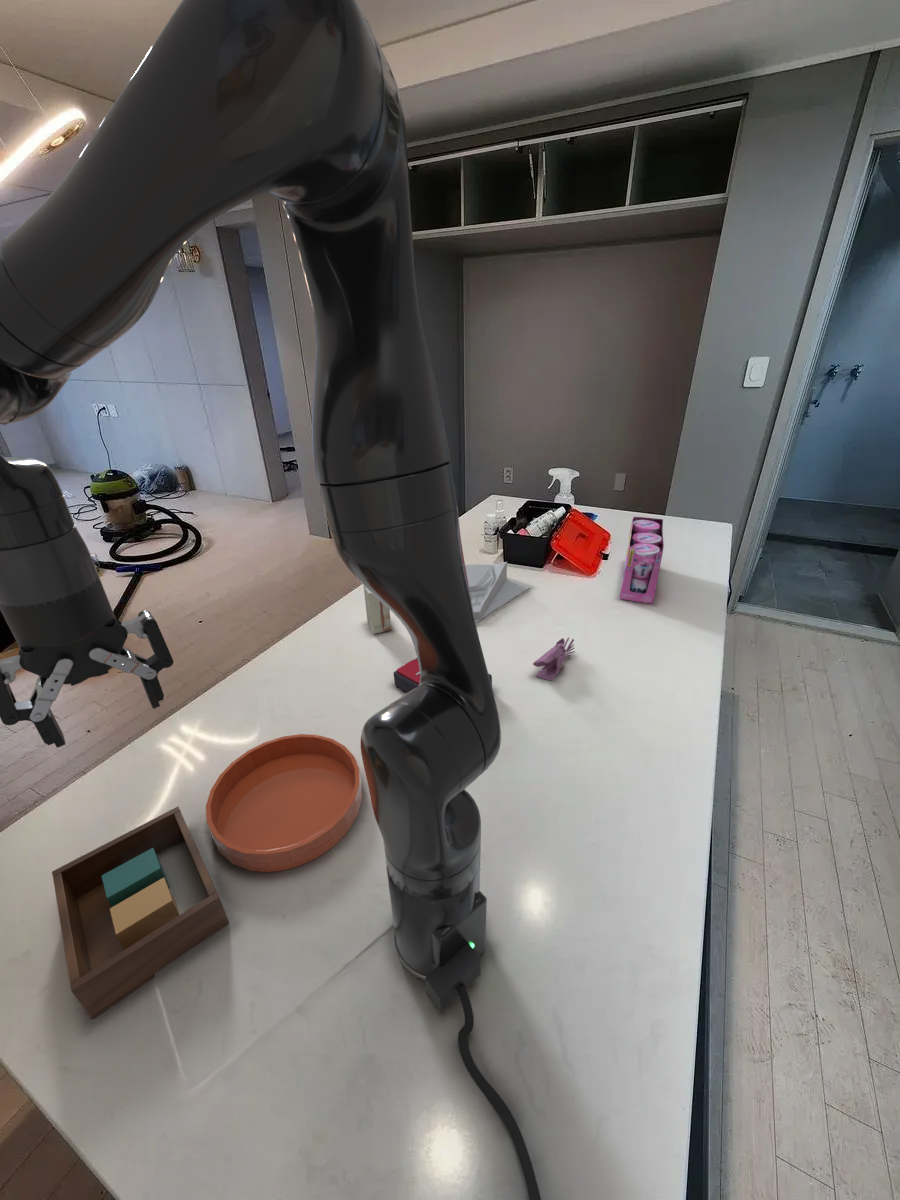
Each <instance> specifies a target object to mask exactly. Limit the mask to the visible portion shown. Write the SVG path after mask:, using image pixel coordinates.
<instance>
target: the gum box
mask: <svg viewBox="0 0 900 1200" xmlns="http://www.w3.org/2000/svg"><path fill="white" fill-rule="evenodd" d="M664 548H665V543H664V519H663V518H654V517H643V516H632V519H631V524H630V529H629V534H628V540H627V545H626V553H625V558H624V559H625V560H624V564H623V571H622V580H621V586H620V592H619V593H620V594H619V599H620V600H625V601H631V602H639V603H645V604H651V605H652V604H654V600H655V594H656V591H657V590H656V589H657V585H658V579H659V573H660V569H661V565H662V560H663V553H664Z"/></svg>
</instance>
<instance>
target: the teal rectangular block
mask: <svg viewBox="0 0 900 1200" xmlns="http://www.w3.org/2000/svg"><path fill="white" fill-rule="evenodd" d="M157 854H158V853H157ZM157 854H156V852H155V850H154V848H151V849H150V850H148V851H146V852H144V853H142V854H140V855H139V856H137V857H135V858H133V859H131V860H129V861H128V862H126V863H124V864H122V865H120V866H118V867H116V868H115V869H113V870H111V871H109V872H107V873H105V874H104V875H102V876H101V877H102V881H103V885H104V889H105V893H106V897H107V900H108V901H109V903H110V905H111V907H114V906H115V905H117V904H119V903H120V902H122V901H124V900H126V899H127V898H129V897H131V896H133V895H134V894H136V893H138V892H139V891H141V890H143V889H145V888H146V887H148V886H150V885H152V884H153V883H155V882H157V881H158V880H160V879H162V878H165V880H166V882H167V884H168V887H169V889H170V890H171V887H170V884H169V880H168V878H167V875H166V873H165V870H164V867H163V865H162V863H161V862H160V859H159V857H158V855H157Z"/></svg>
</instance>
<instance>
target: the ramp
mask: <svg viewBox="0 0 900 1200" xmlns="http://www.w3.org/2000/svg"><path fill="white" fill-rule="evenodd" d="M465 567H466V573H467V579H468V584H469V590H470V595H471V601H472V607H473V612H474V617H475V622H476V623H478V622H480V621H481V620H482V619H484V618H486V617H487V616H489V615H490V614H492V613H494V612H495V611H496V610H498V609H499V608H501V607H503V606H504V605H506V604H507V603H509V602H510V601H512V600H514V599H515V598H517V597H518V596H519V595H521V594H523V593H524V592H526V591H527V590H528V589H530V588H531V587H530V586H528V585H525V584H523V583H519V582H516V581H513V580H511V579H508V577H507V576H508V561H504V562H500V563H495V564H480V563H479V564H476V563H475V564H465Z"/></svg>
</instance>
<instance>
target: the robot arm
mask: <svg viewBox="0 0 900 1200" xmlns="http://www.w3.org/2000/svg"><path fill="white" fill-rule="evenodd" d="M408 152H409V151H408V138H407V127H406V119H405V113H404V109H403V103H402V99H401V94H400V90H399V86H398V83H397V82H396V79H395V76H394V74H393V71H392V69H391V66H390V64H389V62H388V60H387V58H386V55H385V54H384V51H383V49H382V47H381V45H380V43H379V41H378V39H377V37H376V35H375V33H374V31H373V29H372V27H371V25H370V24H369V21H368V20H367V18H366V16H365V13H364V12H363V10H362V8H361V6H360V4H359V2H358V1H357V0H181V1H180V3H179V4H178V6H177V7H176V8H175V10H174V12H173V13H172V14H171V16H170V18H169V19H168V21H167V22H166V24H165V26H164V27H163V28H162V30H161V32H160V33H159V35H158V37H157V38H156V39H155V41H154V43H153V44H152V46H151V47H150V49H149V50H148V52H147V53H146V55H145V57H144V58H143V60H142V62H141V63H140V65H139V66H138V68H137V70H136V71H135V73H134V74H133V76H132V77H131V78H130V80H129V81H128V83H127V84H126V86H125V87H124V88H123V90H122V91H121V93H120V94H119V95H118V97H117V98H116V100H115V102H114V103H113V104H112V106H111V108H110V109H109V111H108V112H107V114H106V115H105V117H104V118H103V120H102V122H101V123H100V125H99V127H98V128H97V129H96V131H95V133H94V134H93V136H92V137H91V139H89V141H88V143H87V144H86V146H85V147H84V149H83V151H82V152H81V153H80V155H79V157H78V158H77V160H76V161H75V162H74V164H73V165H72V167H71V168H70V169H69V171H68V172H67V173H66V175H65V176H64V178H62V180H61V181H60V182H59V184H58V185H57V186H56V188H55V189H54V190H53V191H52V192H51V194H50V195H49V196H47V197H46V199H45V200H44V201H43V202H42V204H40V205H39V206H38V208H36V209H35V210H34V211H33V212H32V213H31V214H29V216H28V217H27V218H26V219H25V220H24V221H23V222H22V223H21V224H19V226H17V227H16V228H15V229H14V230H13V231H12V232H10V233H9V234H8V235H7V236H6V237H5V238H4V239H3V240H1V241H0V427H2V426H6V425H12V424H15V423H19V422H22V421H24V420H27V419H29V418H31V417H33V416H34V415H37V413H39V412H41V411H42V410H44V409H45V408H47V407H48V406H49V405H50V404H51V403H52V402H53V401H54V400H55V398H56V397H57V396H58V395H59V393H60V392H61V390H62V389H63V388H64V386H65V385H66V383H67V382H68V381H69V379H70V378H71V375H72V373H73V371H76V370H77V369H78V368H80V367H82V366H84V365H85V364H87V362H89V361H91V360H92V359H93V358H95V357H96V356H97V355H99V354H100V353H101V352H103V351H104V350H106V349H107V348H108V347H110V346H111V345H112V344H114V343H115V342H117V341H118V340H119V339H121V338H122V337H124V336H125V335H126V334H127V333H128V332H129V331H131V329H132V328H134V327H135V325H137V323H138V322H139V321H140V320H141V319H142V318H143V316H144V315H145V314H146V313H147V311H148V309H149V308H150V307H151V305H152V304H153V301H154V300H155V298H156V296H157V293H158V292H159V291H158V290H159V288H160V287H161V283H162V281H163V279H164V276H165V274H166V272H167V270H168V269H169V267H170V265H171V262H172V261H173V259H174V258H175V256H176V255H177V254H178V252H179V251H180V250H181V248H182V247H183V246H184V245H185V244H186V243H187V242H188V241H189V239H190V238H191V237H192V236H194V235H195V234H196V233H197V232H198V231H199V230H200V229H202V228H203V227H205V226H206V225H207V224H208V223H210V222H211V221H213V220H215V219H216V218H217V217H219V216H221V215H223V214H225V213H227V212H229V211H230V210H232V209H234V208H236V207H238V206H240V205H243V204H245V203H246V202H248V201H250V200H252V199H255V198H256V197H259V196H261V195H264V194H266V193H268V194H269V195H270V196H272V197H274V198H276V199H277V200H278V201H279V202H281V203H282V206H283V209H284V211H285V213H286V216H287V219H288V222H289V226H290V228H291V230H292V231H291V232H292V235H293V237H294V241H295V245H296V247H297V251H298V254H299V259H300V262H301V265H302V270H303V274H304V277H305V278H304V279H305V282H306V285H307V290H308V293H309V298H310V299H309V300H310V302H311V308H312V309H311V310H312V313H313V322H314V328H315V330H314V331H315V365H314V380H313V381H314V382H313V383H314V384H313V393H312V394H313V395H312V396H313V397H312V410H311V411H312V412H311V446H312V447H311V448H312V456H313V457H312V458H313V465H314V469H315V474H316V479H317V483H318V487H319V491H320V497H321V500H322V503H323V508H324V513H325V516H326V520H327V524H328V528H329V532H330V536H331V539H332V542H333V545H334V547H335V550H336V553H337V554H338V556H339V557H340V559H341V561H342V563H344V565H345V566H346V567H347V569H348V570H349V571H350V573H352V575H353V576H354V577H355V578H356V579H357V580H358V581H359V582H360V583H361V585H363V587H364V586H365V587H366V588H367V589H368V590H369V591H370V592H371V593H372V594H373V595H375V596H376V597H377V598H378V599H379V600H380V601H381V602H382V603H383V604H384V605H385V606H386V607H388V608H389V609H390V612H391V613H392V614H394V616H396V618H397V619H399V622H401V623H402V625H403V626H404V628H405V629H406V630H407V632H408V635H409V636H410V639H411V641H412V645H413V647H414V650H415V651H414V652H415V654H416V658H418V663H419V669H420V683H419V686H417V687H416V688H414V689H413V690H411V691H410V692H408V693H407V692H406V693H405V694H403V695H402V696H401V697H399V698H397V699H396V700H394V701H393V702H391V703H390V704H388V705H386V706H385V707H384V708H382V709H381V710H379V711H377V712H376V713H374V714H373V715H372V716H370V717H369V718H367V720H366V721H365V722H364V725H363V727H362V730H361V733H360V754H361V760H362V764H363V770H364V774H365V779H366V781H367V787H368V792H369V796H370V797H369V798H370V804H371V807H372V811H373V816H374V819H375V823H376V825H377V827H378V830H379V832H380V835H381V838H382V841H383V849H384V856H385V864H386V873H387V874H386V875H387V881H388V890H389V899H390V905H391V913H392V915H391V916H392V922H393V930H394V945H395V950H396V954H397V956H398V959H399V961H400V963H401V965H402V966H403V967H404V969H405V970H406V971H407V972H408V973H410V974H411V975H412V976H413V977H415V978H417V979H419V980H420V981H423V982H425V989H426V996H427V997H428V998H429V1000H430V1001H431V1003H432V1005H434V1007H435V1009H436V1010H437V1011H438V1013H439V1014H440V1015H442V1014H444V1012H445V1011H446V1010H447V1009H448V1008H449V1007H450V1006H451V1005H452V1004H453V1003H454V1002H455V1001H456V1000H457V999H458V998H459V999H460V1003H461V1007H462V1011H463V1015H464V1024H463V1026H462V1027H461V1028H460V1030H459V1032H458V1035H457V1040H458V1041H457V1042H458V1047H459V1051H460V1052H459V1053H460V1055H461V1058H462V1060H463V1064H464V1065H465V1068H466V1070H467V1072H468V1074H469V1075H470V1076H471V1079H472V1080H473V1081H474V1082H475V1084H476V1085H477V1086H478V1088H479V1090H480V1091H481V1092H482V1093H483V1094H484V1096H485V1097H486V1098H487V1100H488V1101H489V1103H491V1105H492V1106H493V1107H494V1109H495V1110H496V1111H497V1113H498V1114H499V1116H500V1118H501V1119H502V1121H503V1122H504V1125H505V1126H506V1128H507V1129H508V1132H509V1135H510V1136H511V1137H510V1138H511V1139H512V1142H513V1144H514V1147H515V1149H516V1153H517V1155H518V1159H519V1162H520V1165H521V1168H522V1172H523V1175H524V1179H525V1183H526V1187H527V1191H528V1197H529V1200H542V1199H541V1194H540V1190H539V1185H538V1182H537V1177H536V1174H535V1171H534V1166H533V1162H532V1160H531V1157H530V1153H529V1151H528V1148H527V1145H526V1143H525V1140H524V1137H523V1134H522V1131H521V1130H520V1127H519V1125H518V1122H517V1121H516V1118H515V1117H514V1115H513V1114H512V1112H511V1110H510V1109H509V1108H508V1105H507V1104H506V1102H505V1101H504V1100H503V1098H502V1097H501V1096H500V1095H499V1093H498V1091H496V1090H495V1088H494V1087H493V1086H492V1085H491V1083H489V1081H488V1080H487V1079H486V1077H484V1075H483V1074H482V1072H481V1071H480V1070H479V1068H478V1066H477V1065H476V1063H475V1061H474V1059H473V1057H472V1054H471V1052H470V1046H469V1043H468V1037H469V1036H470V1035H471V1033H472V1032H473V1030H474V1025H475V1024H474V1023H475V1022H474V1021H475V1020H474V1019H475V1018H474V1010H473V1007H472V1002H471V999H470V997H469V993H468V990H467V989H468V988H469V987H470V986H471V985H472V984H473V983H474V982H475V981H476V980H477V979H478V978H479V976H481V974H482V973H481V971H482V969H481V967H482V966H481V965H482V958H481V955H482V954H483V953H484V952H486V940H487V939H486V938H487V937H486V935H487V907H488V906H487V904H488V899H487V897H486V896H485V895H484V893H483V892H482V891H481V854H482V853H481V851H482V848H481V847H482V846H481V845H482V817H481V813H480V809H479V806H478V805H477V802H476V801H475V799H474V797H473V795H471V794H470V793H469V792H468V790H466V789H467V788H468V787H469V786H470V785H471V784H472V783H474V782H475V781H476V780H477V779H478V778H479V777H480V776H481V775H482V774H483V773H484V772H485V771H487V769H488V768H490V767H491V765H492V764H493V763H494V761H495V760H496V759H497V757H498V755H499V752H500V749H501V742H502V730H501V720H500V715H499V711H498V706H497V702H496V697H495V693H494V690H493V685H492V686H491V682H490V678H489V674H490V673H489V671H488V667H487V663H486V660H485V659H486V658H485V656H484V652H483V647H482V644H481V640H480V636H479V632H478V628H477V627H478V626H477V622H475V617H474V612H473V607H472V601H471V595H470V590H469V584H468V579H467V573H466V567H465V565H466V562H465V556H464V550H463V543H462V536H461V535H462V534H461V527H460V517H459V508H458V501H457V495H456V487H455V481H454V474H453V468H452V461H451V455H450V448H449V444H448V439H447V434H446V428H445V423H444V418H443V413H442V412H443V411H442V408H441V407H442V406H441V401H440V396H439V391H438V385H437V381H436V376H435V370H434V367H433V363H432V358H431V353H430V348H429V344H428V340H427V335H426V331H425V328H424V322H423V317H422V312H421V307H420V299H419V291H418V284H417V276H416V275H417V274H416V263H415V249H414V236H413V222H412V205H411V204H412V203H411V189H410V188H411V187H410V173H409V169H410V168H409V153H408ZM68 506H69V505H68V504H67V501H66V499H65V495H64V493H63V490H62V488H61V485H60V483H59V481H58V479H57V476H56V474H55V473H54V471H53V470H52V469H51V468H50V466H49V465H48V464H46V463H45V462H44V461H41V460H39V459H36V458H31V457H22V456H7V457H5V456H4V457H3V456H2V455H1V454H0V612H1V614H2V616H3V619H4V620H5V622H6V624H7V626H8V628H9V629H10V632H11V634H12V635H13V637H14V639H15V641H16V643H17V645H18V648H19V651H18V654H16V655H12V656H9V657H5V658H1V659H0V721H1V722H2V724H3V725H5V726H13V725H16V724H17V723H18V722H24V721H28V722H31V723H32V724H33V725H34V727H35V729H36V731H37V732H38V735H39V736H40V738H41V739H42V741H43V743H44V744H46V745H47V746H51V745H53V744H54V745H55V747H56V748H57V749H58V748H61V747H63V746H65V745H66V740H65V736H64V733H63V731H62V729H61V727H60V725H59V723H58V721H57V719H56V718H55V715H54V714H53V711H52V709H51V707H52V705H53V703H54V702H55V701H56V700H57V698H58V696H59V694H60V691H61V689H62V688H63V686H64V685H70V686H71V687H74V686H76V685H79V684H81V683H83V682H85V681H87V680H88V679H91V678H96V677H101V676H104V675H107V674H109V672H110V670H111V669H113V668H114V669H117V670H119V671H121V672H123V673H127V674H133V675H134V676H138V677H139V679H140V681H141V684H142V687H143V689H144V692H145V694H146V697H147V700H148V702H149V704H150V705H151V708H152V709H153V710H155V709H157V708H160V707H161V704H160V702H162V701H164V699H165V694H164V692H163V689H162V686H161V682H160V681H159V678H158V675H159V673H160V672H161V671H162V670H163V669H169V668H171V667H172V666H173V665H174V659H173V656H172V654H171V652H170V649H169V648H168V645H167V643H166V640H165V638H164V636H163V634H162V631H161V629H160V627H159V626H160V625H158V622H157V621H156V619H155V618H154V616H153V614H152V613H151V611H150V610H140V612H138V613H137V617H134V618H132V619H128V620H126V621H120V620H119V619H118V618H116V615H115V613H114V611H113V608H112V606H111V603H110V601H109V598H108V595H107V593H106V591H105V587H104V586H103V583H102V580H101V578H100V574H99V572H98V571H97V567H96V563H95V560H94V559H93V557H92V555H91V552H90V550H89V548H88V545H87V544H86V541H85V540H84V539H83V537H82V535H81V533H80V532H79V530H78V527H77V526H76V524H75V521H74V518H73V516H72V513H71V512H70V511H71V510H70V509H69V507H68ZM129 634H134V635H136V637H137V638H139V639H141V640H144V639H147V642H148V643H149V645H150V648H151V649H152V652H153V655H151V656H149V657H148V658H146V657H144V656H142V655H140V654H138V653H135V652H134V651H133V650H131V648H130V649H129V648H127V647H126V646H124V645H125V643H126V641H127V639H128V635H129ZM20 669H23V670H24V671H26V672H29V673H31V674H34V675H37V678H36V680H35V685H34V688H33V691H32V692H31V695H30V697H29V699H28V700H25V701H17V699H16V697H15V695H14V692H13V690H12V688H11V685H10V684H11V683H13V682H14V681H15V680H16V673H17V672H18V671H19V670H20Z"/></svg>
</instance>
